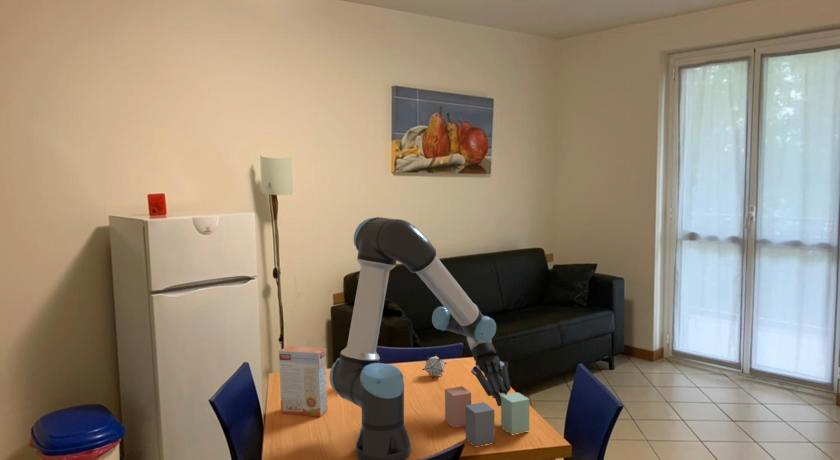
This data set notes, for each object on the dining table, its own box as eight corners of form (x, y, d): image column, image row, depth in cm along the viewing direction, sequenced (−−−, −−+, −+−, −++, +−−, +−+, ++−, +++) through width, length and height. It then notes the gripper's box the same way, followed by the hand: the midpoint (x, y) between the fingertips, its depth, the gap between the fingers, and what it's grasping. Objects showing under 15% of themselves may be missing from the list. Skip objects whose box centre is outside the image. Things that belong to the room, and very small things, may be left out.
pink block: (471, 424, 175) (471, 392, 175) (453, 427, 173) (453, 395, 172) (462, 417, 181) (462, 386, 180) (445, 420, 179) (444, 389, 178)
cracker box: (328, 410, 187) (326, 347, 185) (320, 417, 182) (318, 353, 180) (289, 406, 191) (287, 344, 189) (280, 413, 185) (278, 350, 183)
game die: (430, 387, 217) (414, 368, 215) (436, 372, 225) (420, 353, 223) (449, 379, 213) (433, 359, 211) (454, 364, 220) (438, 345, 218)
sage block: (529, 431, 170) (529, 399, 169) (511, 435, 167) (511, 402, 167) (518, 424, 175) (518, 392, 174) (501, 427, 173) (501, 395, 172)
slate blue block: (494, 443, 163) (494, 409, 162) (475, 447, 160) (475, 413, 159) (483, 435, 168) (483, 402, 167) (465, 438, 166) (465, 405, 165)
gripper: (494, 349, 194) (521, 416, 180) (460, 355, 189) (485, 423, 175) (503, 338, 189) (531, 406, 175) (467, 343, 184) (494, 413, 170)
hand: (508, 414), depth 175 cm, fingers closed
